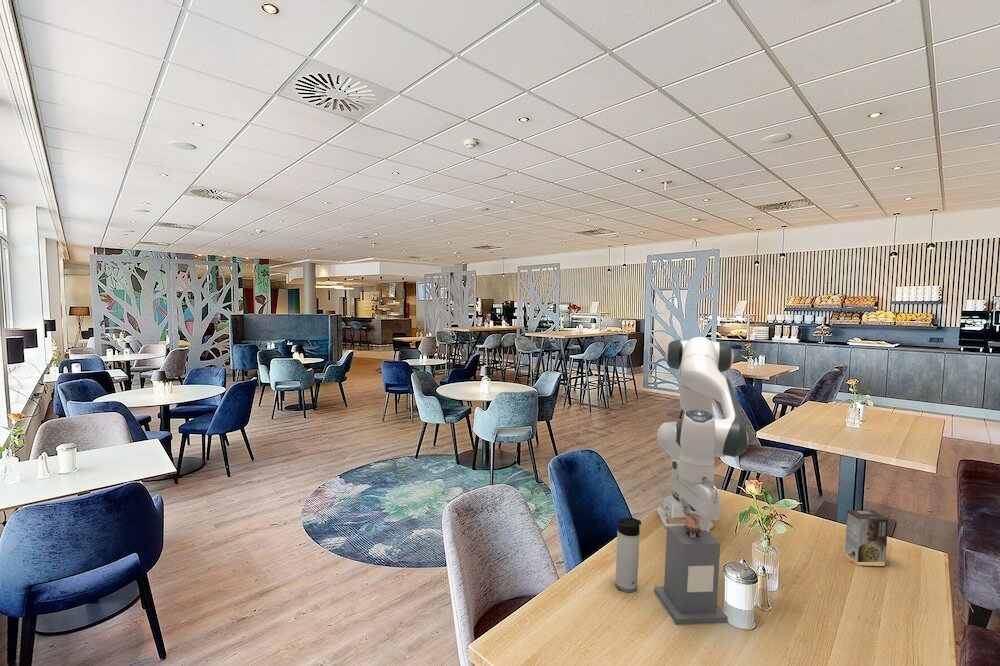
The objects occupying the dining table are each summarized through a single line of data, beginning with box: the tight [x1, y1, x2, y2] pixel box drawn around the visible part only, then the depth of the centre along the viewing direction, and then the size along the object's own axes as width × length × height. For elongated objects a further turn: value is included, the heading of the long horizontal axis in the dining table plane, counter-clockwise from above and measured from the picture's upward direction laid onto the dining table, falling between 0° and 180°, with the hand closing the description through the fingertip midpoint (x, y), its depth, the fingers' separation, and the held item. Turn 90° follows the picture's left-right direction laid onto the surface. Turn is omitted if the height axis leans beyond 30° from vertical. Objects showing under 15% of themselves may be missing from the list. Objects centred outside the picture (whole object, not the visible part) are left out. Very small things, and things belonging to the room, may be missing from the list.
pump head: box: [666, 513, 702, 537], centre depth 129 cm, size 4×10×20 cm, turn 95°
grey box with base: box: [653, 526, 729, 625], centre depth 129 cm, size 14×14×20 cm
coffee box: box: [844, 509, 889, 563], centre depth 155 cm, size 9×6×16 cm
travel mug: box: [614, 517, 642, 593], centre depth 138 cm, size 6×7×20 cm
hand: (693, 520), depth 129 cm, fingers open, 8 cm apart
